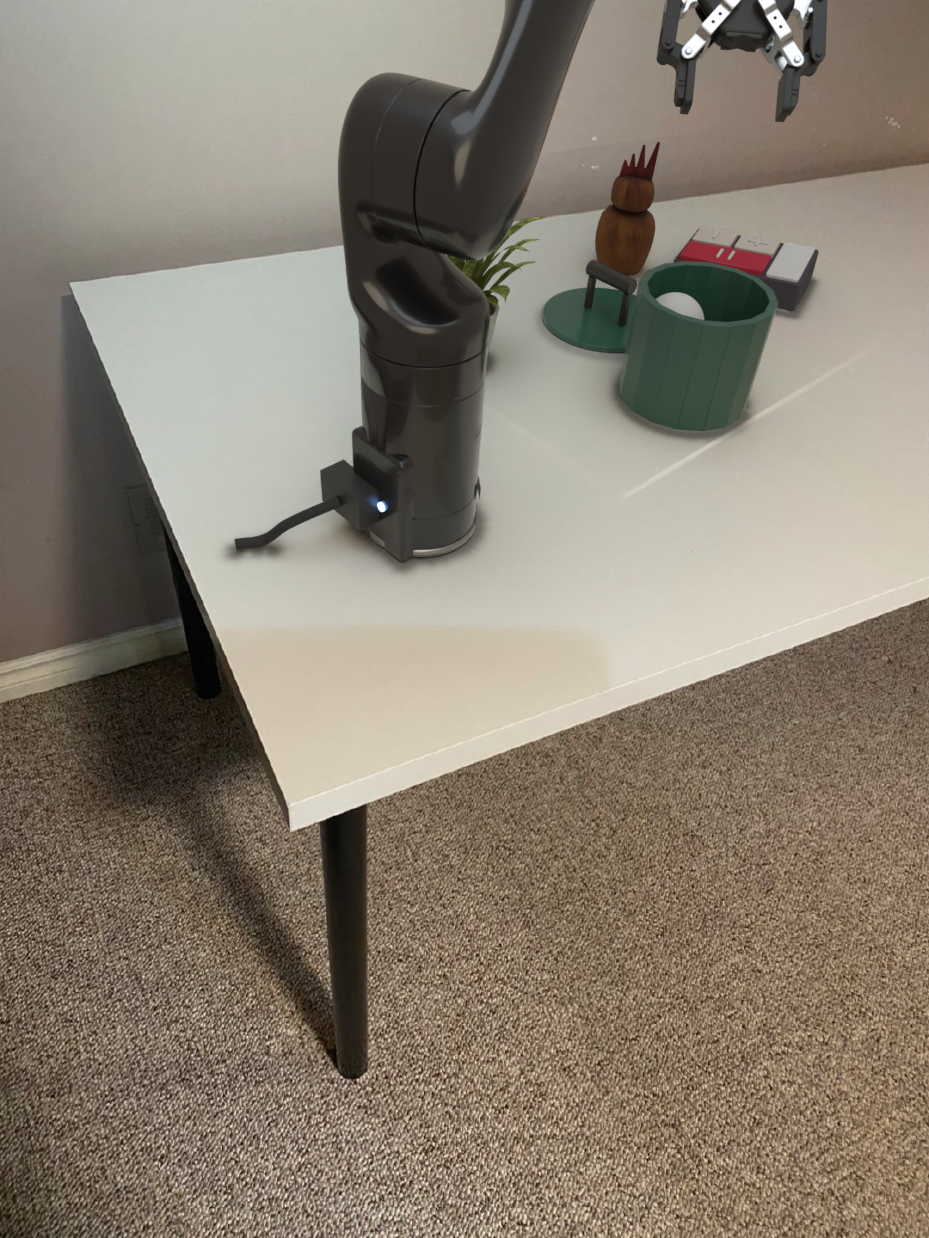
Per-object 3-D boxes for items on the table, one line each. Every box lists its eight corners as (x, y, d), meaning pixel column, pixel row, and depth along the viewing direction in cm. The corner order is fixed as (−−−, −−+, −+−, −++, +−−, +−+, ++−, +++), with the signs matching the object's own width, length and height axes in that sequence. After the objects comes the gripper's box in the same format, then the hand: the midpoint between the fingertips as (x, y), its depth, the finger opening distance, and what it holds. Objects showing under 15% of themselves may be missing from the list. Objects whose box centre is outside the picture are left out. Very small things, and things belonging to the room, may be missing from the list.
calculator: (699, 221, 116) (821, 243, 111) (693, 255, 119) (812, 278, 114) (673, 254, 109) (802, 279, 104) (667, 289, 112) (792, 315, 107)
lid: (608, 371, 96) (619, 313, 92) (516, 320, 103) (522, 263, 98) (689, 332, 103) (702, 276, 99) (597, 286, 110) (606, 231, 105)
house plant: (568, 366, 97) (591, 208, 85) (479, 417, 89) (491, 251, 78) (468, 316, 103) (477, 163, 91) (378, 360, 96) (375, 199, 84)
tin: (692, 451, 87) (722, 340, 79) (593, 393, 93) (611, 285, 85) (768, 405, 93) (804, 298, 85) (671, 354, 100) (695, 249, 91)
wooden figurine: (653, 270, 114) (680, 140, 103) (633, 287, 110) (659, 154, 99) (604, 255, 116) (625, 126, 105) (583, 271, 112) (603, 140, 102)
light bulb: (706, 403, 90) (703, 305, 84) (645, 408, 92) (637, 312, 85) (706, 374, 94) (703, 278, 88) (648, 379, 96) (641, 285, 89)
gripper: (679, -110, 77) (662, 84, 78) (849, -98, 77) (831, 97, 78) (662, -47, 85) (646, 129, 85) (816, -36, 85) (800, 141, 85)
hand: (734, 114), depth 81 cm, fingers open, 8 cm apart
